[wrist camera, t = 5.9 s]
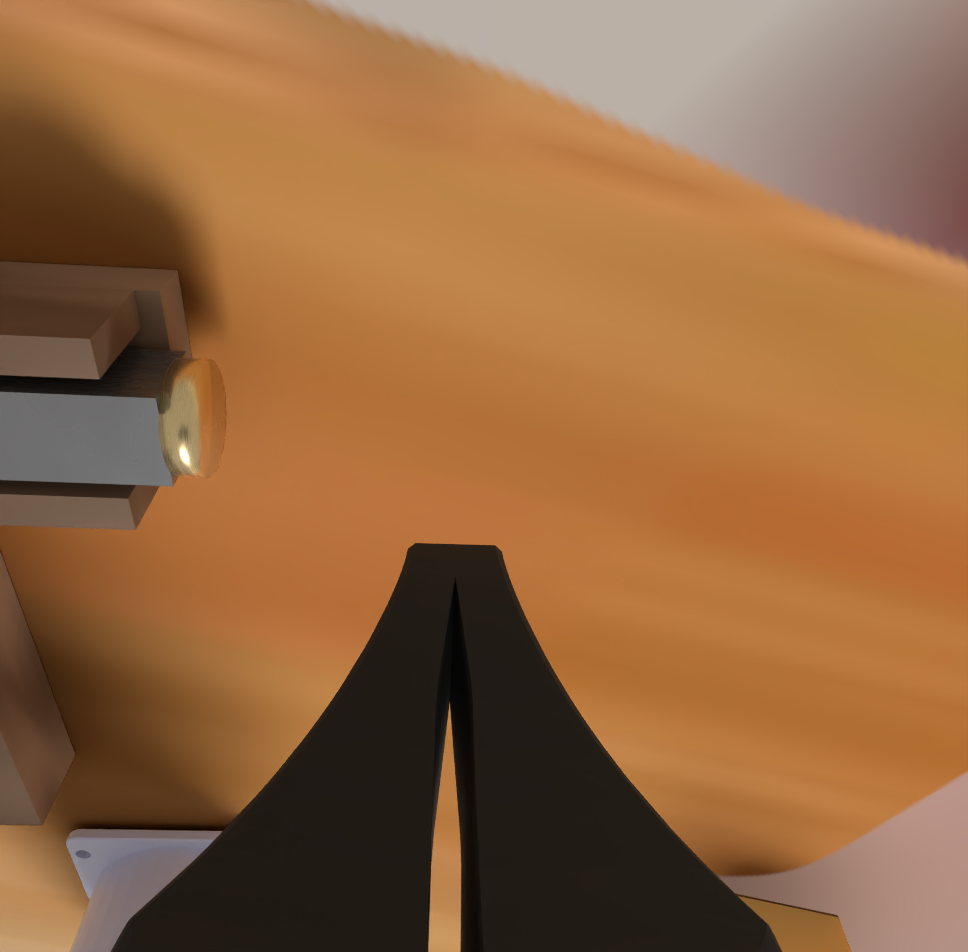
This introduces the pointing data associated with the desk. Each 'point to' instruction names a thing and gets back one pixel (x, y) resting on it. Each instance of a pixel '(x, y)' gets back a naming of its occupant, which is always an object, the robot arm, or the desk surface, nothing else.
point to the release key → (116, 422)
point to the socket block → (26, 721)
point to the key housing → (82, 366)
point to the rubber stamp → (800, 927)
